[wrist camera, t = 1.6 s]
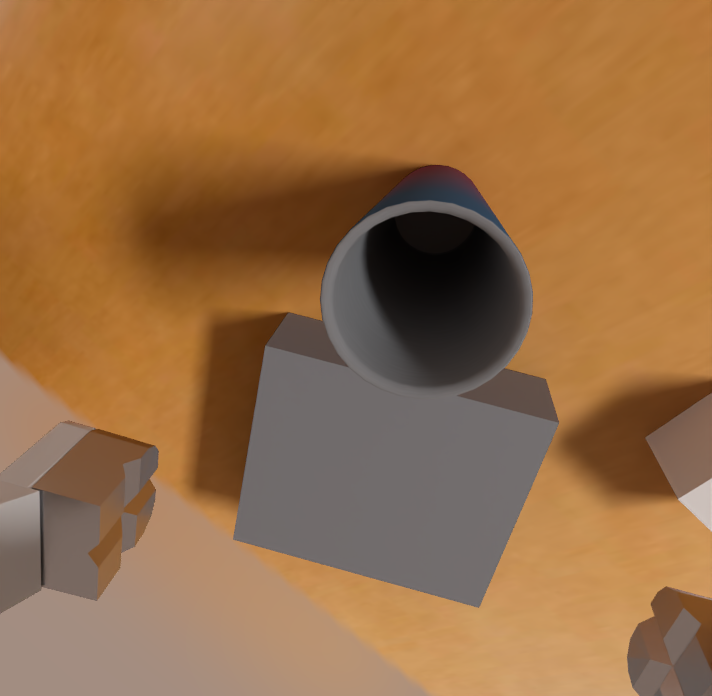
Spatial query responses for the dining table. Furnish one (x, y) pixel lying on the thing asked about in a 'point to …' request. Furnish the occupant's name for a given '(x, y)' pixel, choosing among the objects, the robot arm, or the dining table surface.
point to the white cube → (688, 457)
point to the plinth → (388, 468)
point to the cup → (427, 290)
